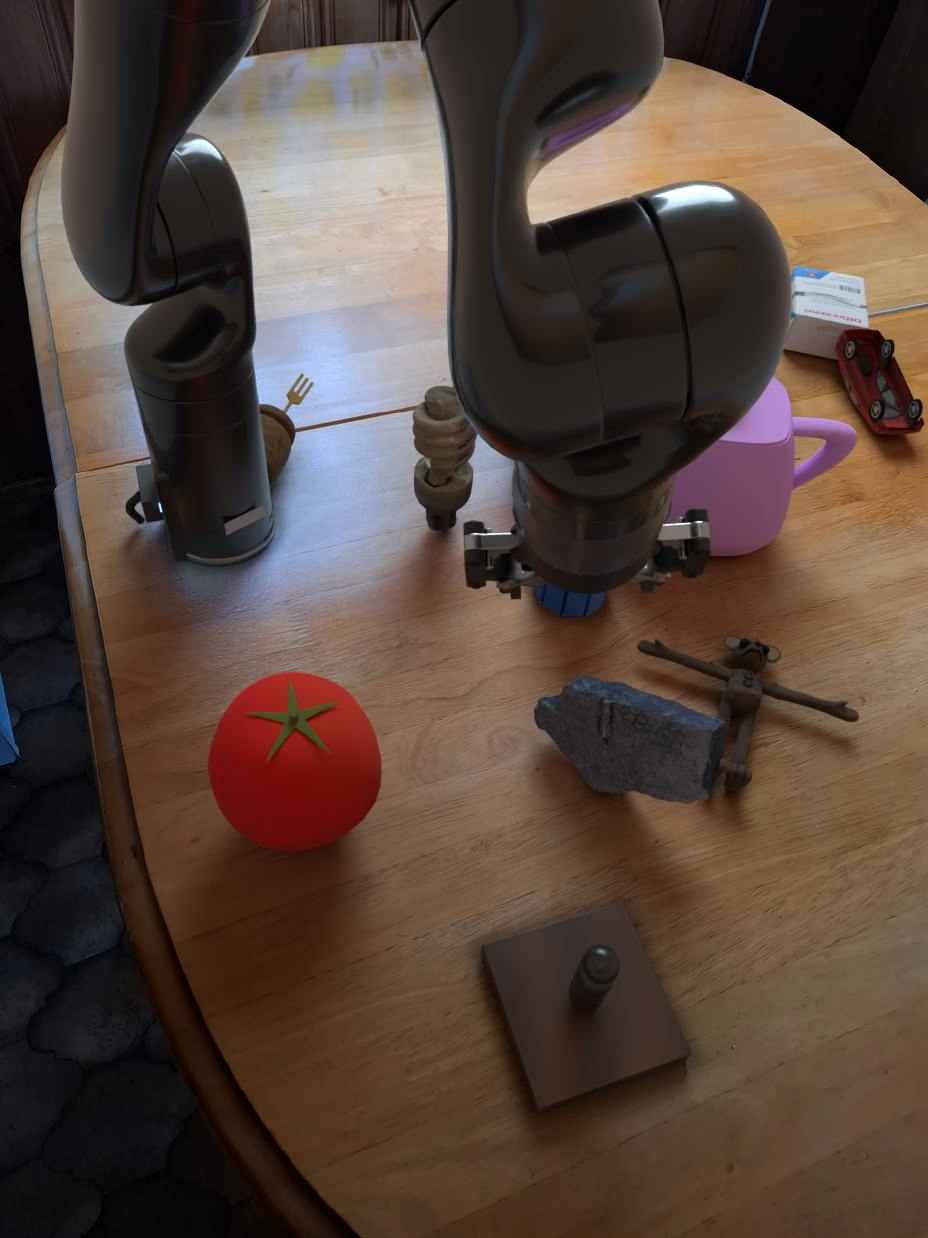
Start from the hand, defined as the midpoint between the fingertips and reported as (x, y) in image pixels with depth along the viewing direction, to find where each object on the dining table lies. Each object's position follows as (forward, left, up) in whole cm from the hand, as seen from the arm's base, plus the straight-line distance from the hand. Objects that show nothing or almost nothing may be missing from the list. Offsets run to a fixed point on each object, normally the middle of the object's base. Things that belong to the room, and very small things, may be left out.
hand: (579, 581), depth 60 cm
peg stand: (-6, -21, -15) cm, 27 cm away
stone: (+3, -6, -15) cm, 17 cm away
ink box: (+56, +48, -13) cm, 75 cm away
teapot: (+22, +19, -15) cm, 33 cm away
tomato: (-20, -3, -15) cm, 26 cm away
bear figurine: (+14, -5, -15) cm, 21 cm away
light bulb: (-2, +22, -15) cm, 27 cm away
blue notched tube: (+7, +12, -15) cm, 20 cm away
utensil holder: (-19, +30, -12) cm, 37 cm away
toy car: (+50, +29, -10) cm, 59 cm away
